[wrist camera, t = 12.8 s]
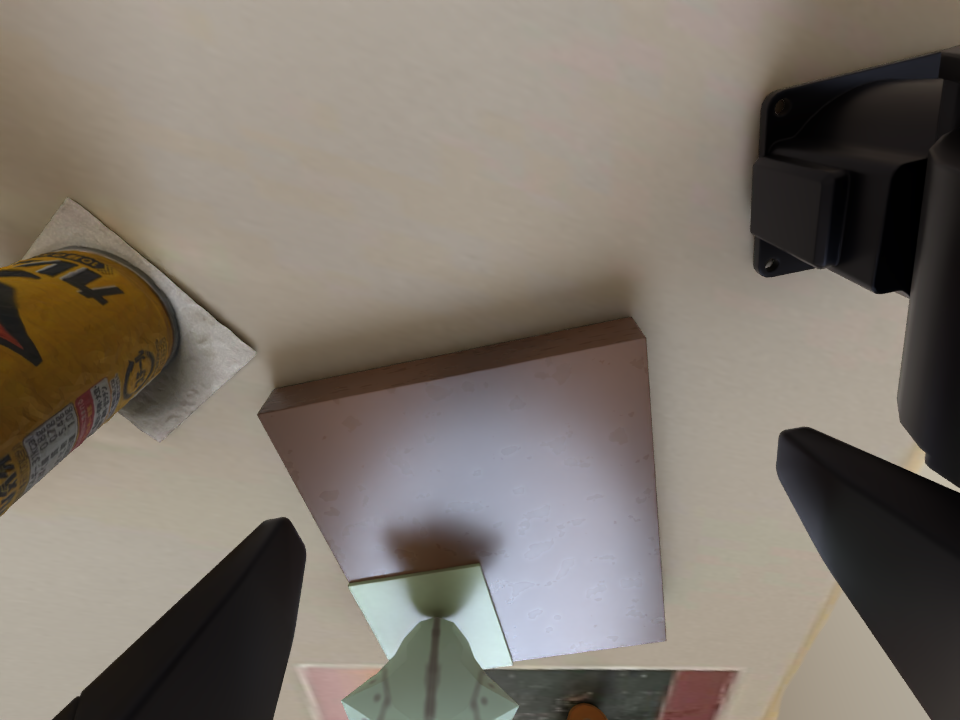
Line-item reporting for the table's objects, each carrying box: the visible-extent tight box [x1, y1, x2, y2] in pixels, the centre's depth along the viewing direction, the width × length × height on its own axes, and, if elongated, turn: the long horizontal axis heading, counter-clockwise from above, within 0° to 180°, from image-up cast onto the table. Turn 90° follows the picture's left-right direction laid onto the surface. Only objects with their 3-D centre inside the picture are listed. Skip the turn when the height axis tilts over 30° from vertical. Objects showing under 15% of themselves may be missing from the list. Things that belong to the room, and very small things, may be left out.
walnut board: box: [257, 317, 666, 669], centre depth 25 cm, size 16×20×2 cm
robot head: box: [341, 617, 519, 720], centre depth 24 cm, size 8×4×7 cm, turn 86°
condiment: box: [0, 197, 257, 516], centre depth 15 cm, size 7×8×12 cm
